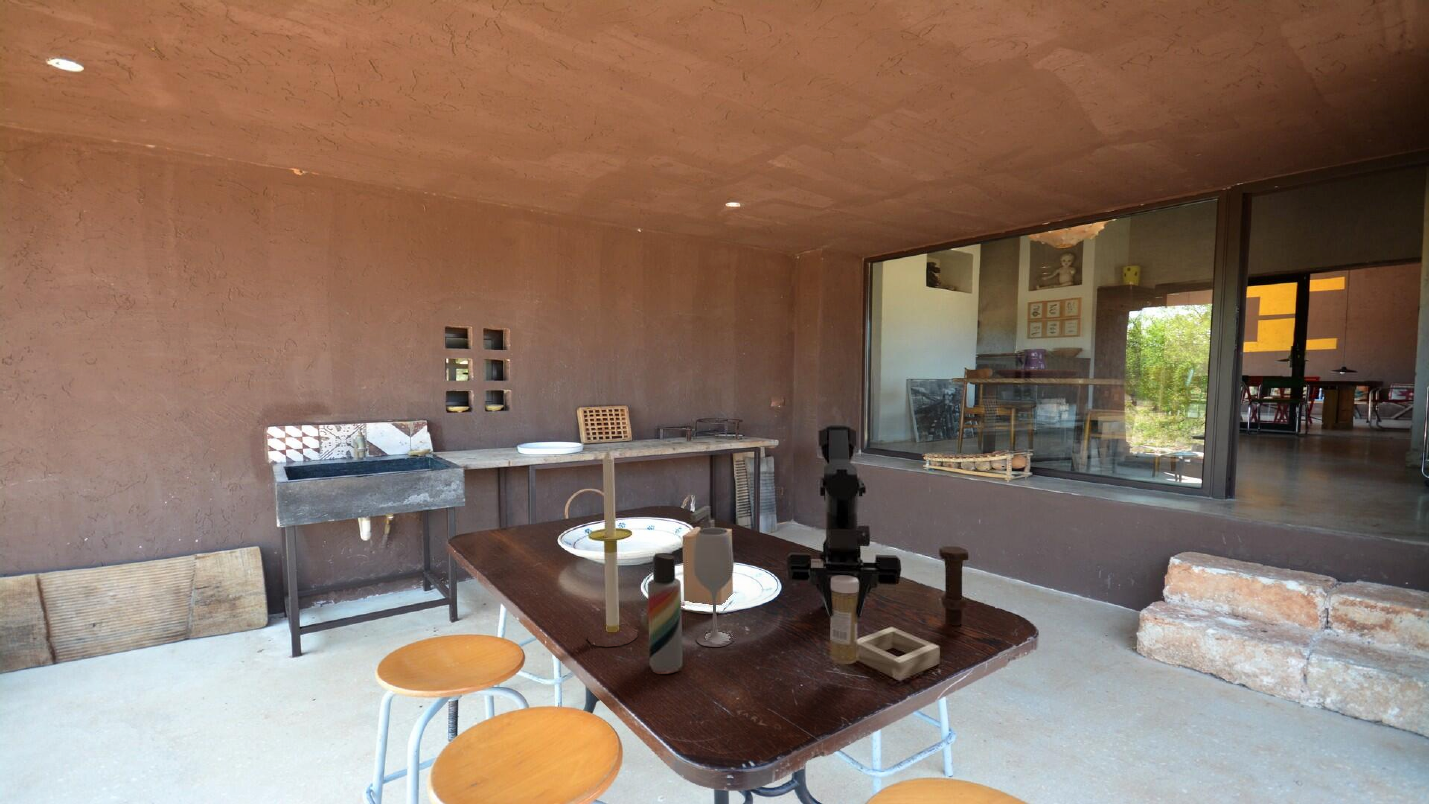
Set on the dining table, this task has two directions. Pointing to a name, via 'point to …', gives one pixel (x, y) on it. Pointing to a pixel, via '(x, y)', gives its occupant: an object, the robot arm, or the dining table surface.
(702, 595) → the soap dispenser
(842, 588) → the sprinkles bottle
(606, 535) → the candle
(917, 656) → the collar
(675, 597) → the lotion bottle
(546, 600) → the dining table surface
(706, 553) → the wineglass
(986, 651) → the dining table surface
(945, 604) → the bolt
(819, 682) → the dining table surface
